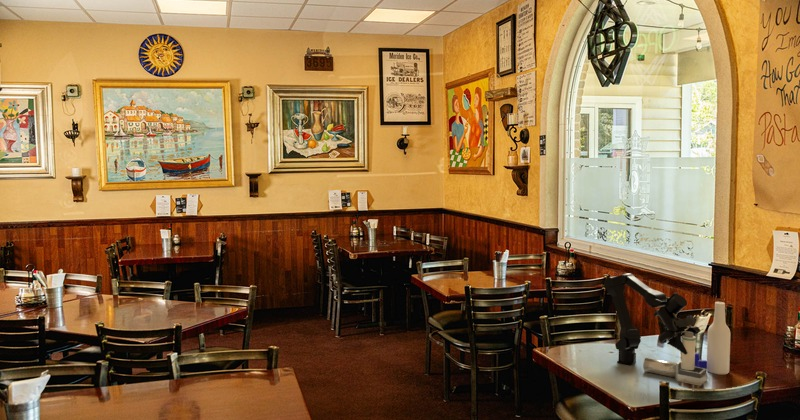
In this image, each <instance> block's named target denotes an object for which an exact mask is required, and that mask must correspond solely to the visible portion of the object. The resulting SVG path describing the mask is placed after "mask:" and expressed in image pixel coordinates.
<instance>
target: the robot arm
mask: <svg viewBox="0 0 800 420" xmlns="http://www.w3.org/2000/svg"><path fill="white" fill-rule="evenodd" d="M603 283H604V287H605V290H606V293H608V294H609V295H610V296H611V297H612V301H613V304H614V309H615V312H616V315H617V318H618V322H619V327H620V331H619V339H618V341H617V342H616V343H615V345H614V346H615V350H618V358H617V359H618V360H617V361H616V363H618V364H622V365H628V366H632V365H634V364H635V363H637V353H636V350H638V348H639V346H640V345H641V342H642V341H641V340H642V339H641V338H642V336H641V334H640V330H639V328H635V327H634V325H633V324H632V320H631V316H630V313H629V309H628V306H627V303H626V300H625V296H624V294H625V290H626V286H625V285H627V286H628V287H630V288H631V289H632V290H633V291H635V292H637V294H639V295H640V296H641V297H642V298H643V299H644V302H645V303H646V304H647V305H648V306H649V307H650V308H652V309H653V308H657V309H655V310H654V314H653V316H654V317H659V319H660V320H661V322H662V323H663V325H662V327H663V328H664V329H666V330H665V331H663V332H662V333H661V334H660V335H659V336H658V341H659V343H660V344H667V345H670V346H672V347H673V348H675V349H676V350H677V351H679V352H682V353H684V354H687V351H686V349H685V347H684V345H683V344H682V335H685V332H693V336H695V337H696V336H697V335H698V334H699V333H700V332H701V329H700V328H699V327H698V326H697V325H695V323H696V319H695V317H694V316H693V315H688V316H686V317H685V318H681V317H677V316H676V314H677V315H678V313H680V312H681V311H682V310H683V309H685V308H686V306H687V305H688V302H687V299H686V298H684V296H682V295H679V293H678V292H672V294H671V295H670V296H669V297H668V296H667V295H666V294H665V293H663V292H662V291H659V290H656V289H653V288H651V287H650V286H648V285H646V283H644V282H643V281H641V280H640V279H639V278H637V277H635V275H634V274H633V273H623V274H620V275H616V276H608V277H606V278H605V280H604V282H603ZM667 341H668V342H667ZM695 353H698V351H697V347H696V345H695Z"/></svg>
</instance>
